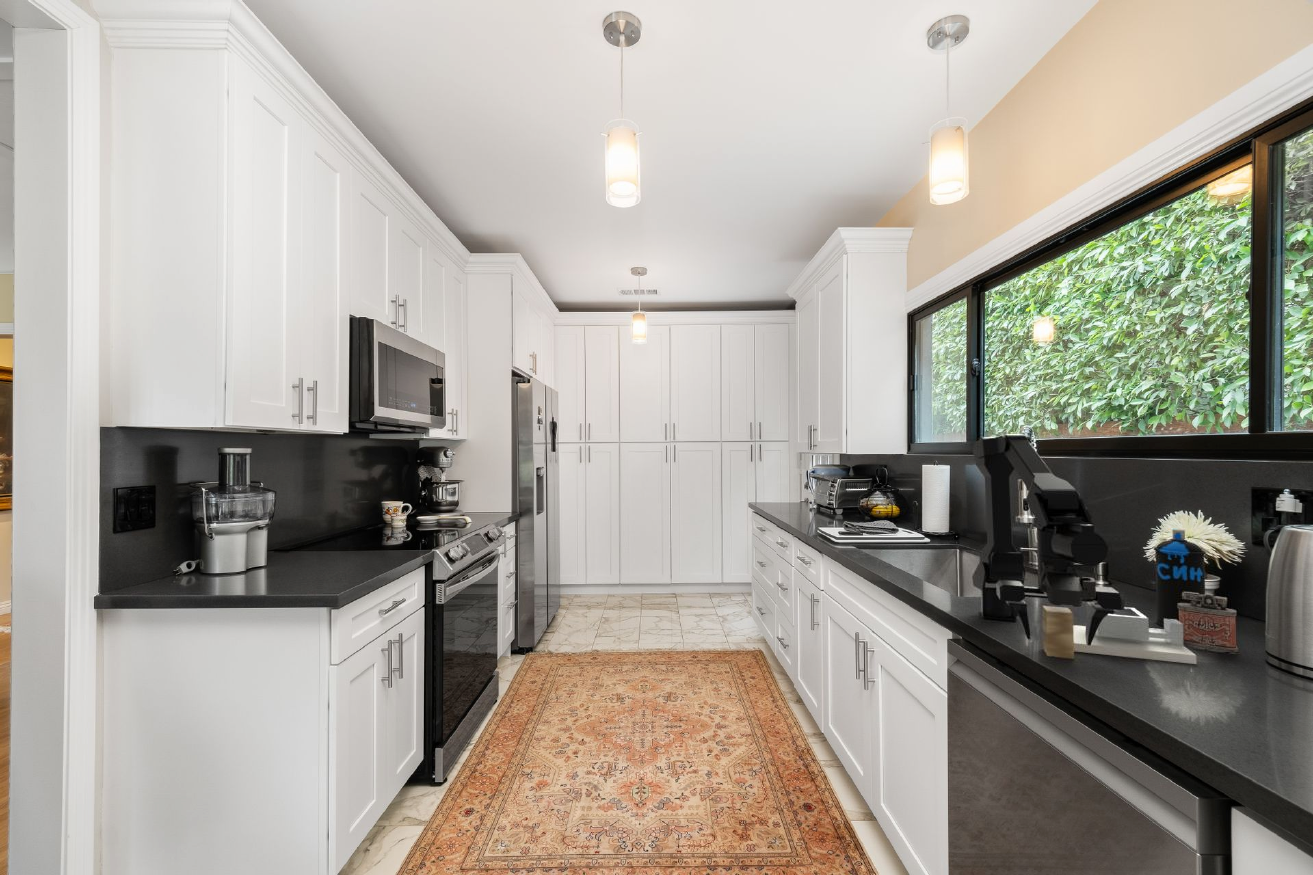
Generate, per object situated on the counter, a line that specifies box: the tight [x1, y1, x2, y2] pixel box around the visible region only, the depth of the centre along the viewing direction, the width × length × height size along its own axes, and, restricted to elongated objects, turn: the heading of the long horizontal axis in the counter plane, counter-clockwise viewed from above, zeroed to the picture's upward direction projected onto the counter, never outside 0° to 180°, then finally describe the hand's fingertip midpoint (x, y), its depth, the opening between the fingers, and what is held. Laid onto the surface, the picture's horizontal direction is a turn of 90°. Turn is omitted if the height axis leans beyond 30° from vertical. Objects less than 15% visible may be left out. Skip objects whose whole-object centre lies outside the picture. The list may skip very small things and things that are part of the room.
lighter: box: [1178, 592, 1239, 654], centre depth 111 cm, size 8×3×10 cm, turn 47°
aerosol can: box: [1153, 528, 1207, 627], centre depth 124 cm, size 8×8×20 cm
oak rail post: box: [1041, 605, 1075, 660], centre depth 108 cm, size 4×4×8 cm
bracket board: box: [1073, 624, 1197, 665], centre depth 112 cm, size 19×13×2 cm
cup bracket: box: [1086, 603, 1184, 646], centre depth 111 cm, size 13×8×5 cm, turn 67°
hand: (1057, 641), depth 108 cm, fingers open, 9 cm apart
